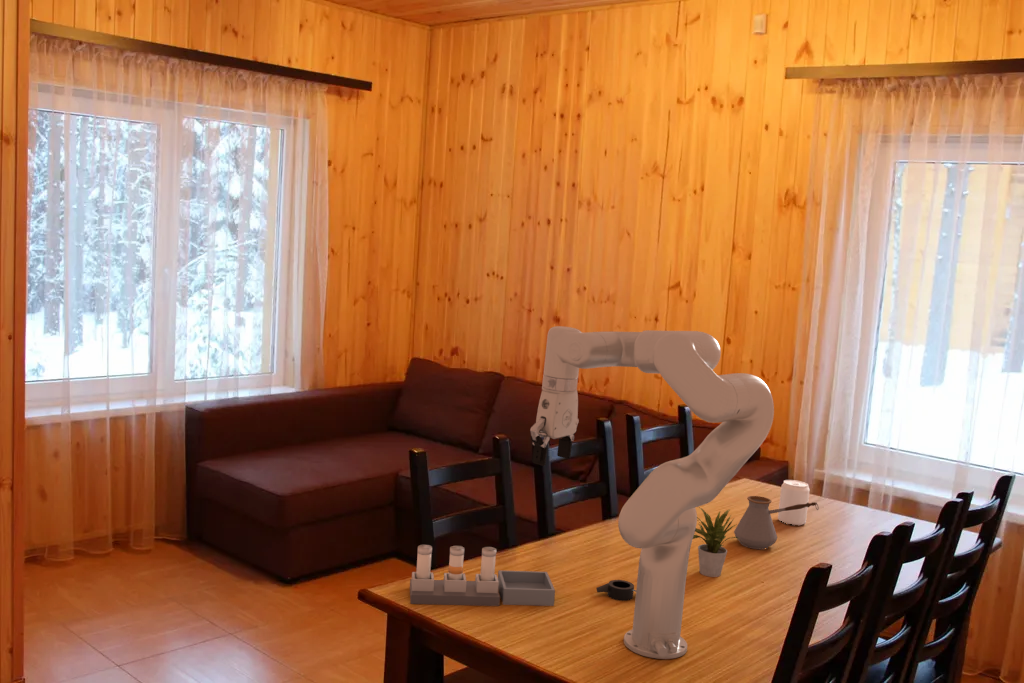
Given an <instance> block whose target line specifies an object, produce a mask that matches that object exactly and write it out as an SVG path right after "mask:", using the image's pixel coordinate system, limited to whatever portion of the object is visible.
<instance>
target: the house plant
mask: <svg viewBox="0 0 1024 683" xmlns="http://www.w3.org/2000/svg"><path fill="white" fill-rule="evenodd" d="M698 508H699V509H700V510H701V511H702V513H703V516H704V519H705V522H706V523H705V522H704V521H702V520H701V519H700V518H699V517H698V516H697V523H698V526H699V528H697V527H696V529H695V533H696V534H694V536H693V540H695V539H698V538H699V539H701V542H702V543H703V544H700V545H698V546H697V551H698V567H699V574H701V575H702V576H705V577H710V578H716V577H720V576H721V575H722V571H723V568H724V564H725V561H726V556H727V553H728V549H726V548H725V547H723V546H724V544H723V543H725V542H726V541H728V540H729V539H734V538H735V539H737V538H738V537H735V536H732V537H729V538H727V539H725V538H726V536H727V535H726V534H727V533H728V532H729V531H730V530H732V528H734V527H735V526H737V525H738V524H737V523H736V524H734V525H732V526H731V524H732V523H733V521H734V519H735V518H732V519H731V517H732V514H730V515H729V517H728V518H727V520H726V517H727V516H728V514H729V512H730V511H731V509H728V510H725V511H724V513H722V514H721V511H719V512H718V513H717V516H716V517H715V519H714V523H713V521H712V517H711V515H710V514H709V513H707V512H706V511H705V510H704V509H703V508H702V507H701V506H699V507H698ZM730 519H731V521H730ZM725 520H726V521H725ZM724 522H725V523H724ZM723 524H724V525H723ZM730 526H731V527H730ZM697 534H699V535H697ZM702 536H703V537H704V538H703V537H702ZM738 539H739V538H738ZM703 541H704V542H705V543H704V542H703Z"/></svg>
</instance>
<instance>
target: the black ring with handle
mask: <svg viewBox="0 0 1024 683" xmlns="http://www.w3.org/2000/svg"><path fill="white" fill-rule="evenodd" d="M596 592H597V593H607V596H608V598H610V599H612V600H615V601H620V602H625V601H626V602H627V601H631V600H633V599H634V592H635V593H636V589H635V585H634V583H633V582H630V581H628V580H623V579H612V580H609V581H608V583H605V584H602V585H599V586H597V587H596Z"/></svg>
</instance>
